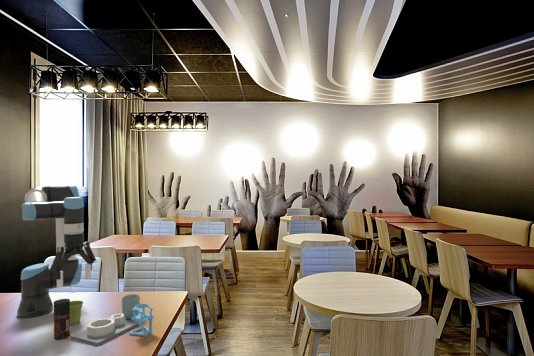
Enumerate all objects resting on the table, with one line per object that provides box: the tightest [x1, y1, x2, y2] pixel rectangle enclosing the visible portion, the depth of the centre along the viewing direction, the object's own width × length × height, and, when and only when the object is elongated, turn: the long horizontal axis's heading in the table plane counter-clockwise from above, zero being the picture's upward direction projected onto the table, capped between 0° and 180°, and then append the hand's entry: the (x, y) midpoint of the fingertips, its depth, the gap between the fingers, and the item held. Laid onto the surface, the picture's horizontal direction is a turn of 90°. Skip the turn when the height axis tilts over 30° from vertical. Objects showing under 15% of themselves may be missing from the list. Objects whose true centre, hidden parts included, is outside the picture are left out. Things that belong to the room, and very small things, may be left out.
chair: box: [128, 303, 155, 338], centre depth 151 cm, size 8×8×12 cm
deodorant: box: [53, 298, 71, 341], centre depth 149 cm, size 6×6×15 cm
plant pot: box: [70, 300, 84, 326], centre depth 164 cm, size 9×9×9 cm
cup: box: [121, 293, 141, 320], centre depth 168 cm, size 8×8×10 cm
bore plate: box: [69, 313, 140, 347], centre depth 153 cm, size 16×22×5 cm
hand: (74, 282), depth 152 cm, fingers open, 13 cm apart
